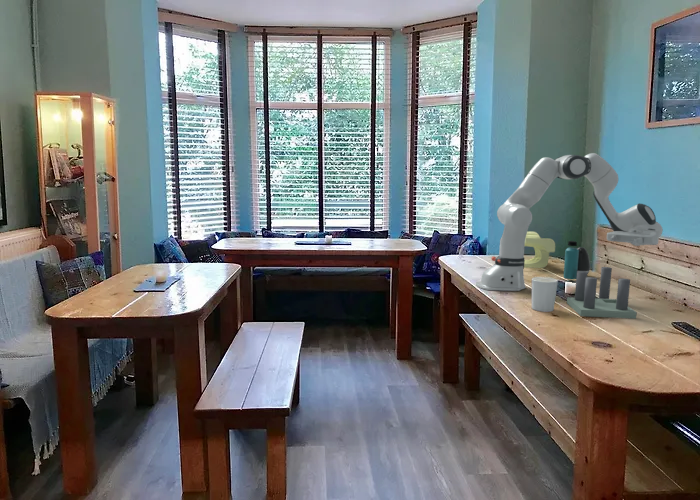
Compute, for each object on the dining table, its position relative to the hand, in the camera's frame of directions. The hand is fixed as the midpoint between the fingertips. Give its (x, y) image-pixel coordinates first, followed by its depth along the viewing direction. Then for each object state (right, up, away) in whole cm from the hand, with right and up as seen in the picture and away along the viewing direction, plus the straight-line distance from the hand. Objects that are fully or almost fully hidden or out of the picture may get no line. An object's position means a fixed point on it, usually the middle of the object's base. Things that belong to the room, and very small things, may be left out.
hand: (622, 240), depth 238 cm
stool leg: (-9, -25, -2) cm, 27 cm away
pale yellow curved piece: (-14, -13, +77) cm, 79 cm away
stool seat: (-19, -28, -20) cm, 39 cm away
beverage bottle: (-9, -20, +36) cm, 42 cm away
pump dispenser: (+2, -18, +49) cm, 52 cm away
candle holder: (-41, -28, -19) cm, 53 cm away
